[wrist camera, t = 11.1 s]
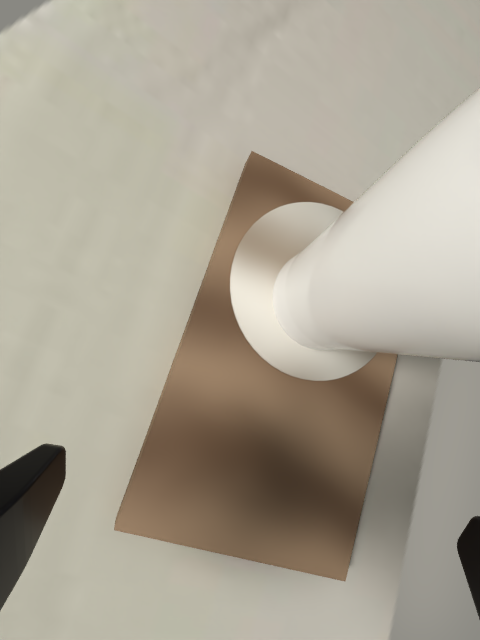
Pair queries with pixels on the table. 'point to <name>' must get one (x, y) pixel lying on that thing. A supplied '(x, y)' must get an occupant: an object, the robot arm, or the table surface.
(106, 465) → the table surface
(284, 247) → the walnut board
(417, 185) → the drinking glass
